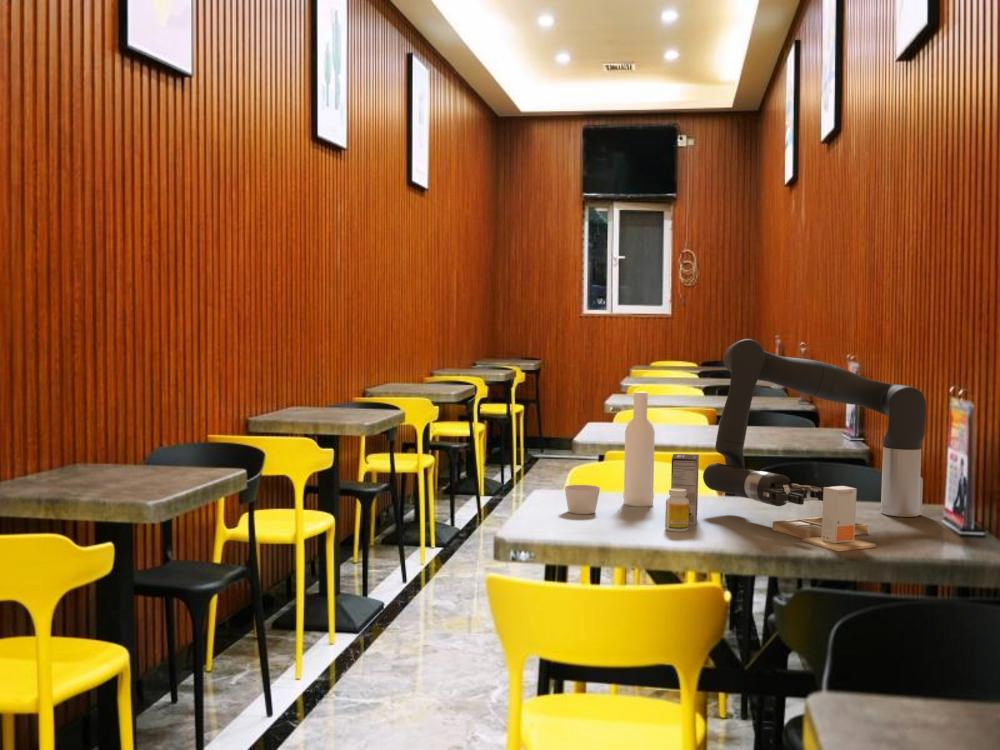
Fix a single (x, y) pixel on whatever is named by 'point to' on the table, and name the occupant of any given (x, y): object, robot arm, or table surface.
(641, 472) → the bottle
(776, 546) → the table surface
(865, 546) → the coaster
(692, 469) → the coffee box
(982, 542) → the table surface
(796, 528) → the light wood flat frame
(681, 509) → the supplement bottle
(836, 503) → the skincare box
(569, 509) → the beige cup
